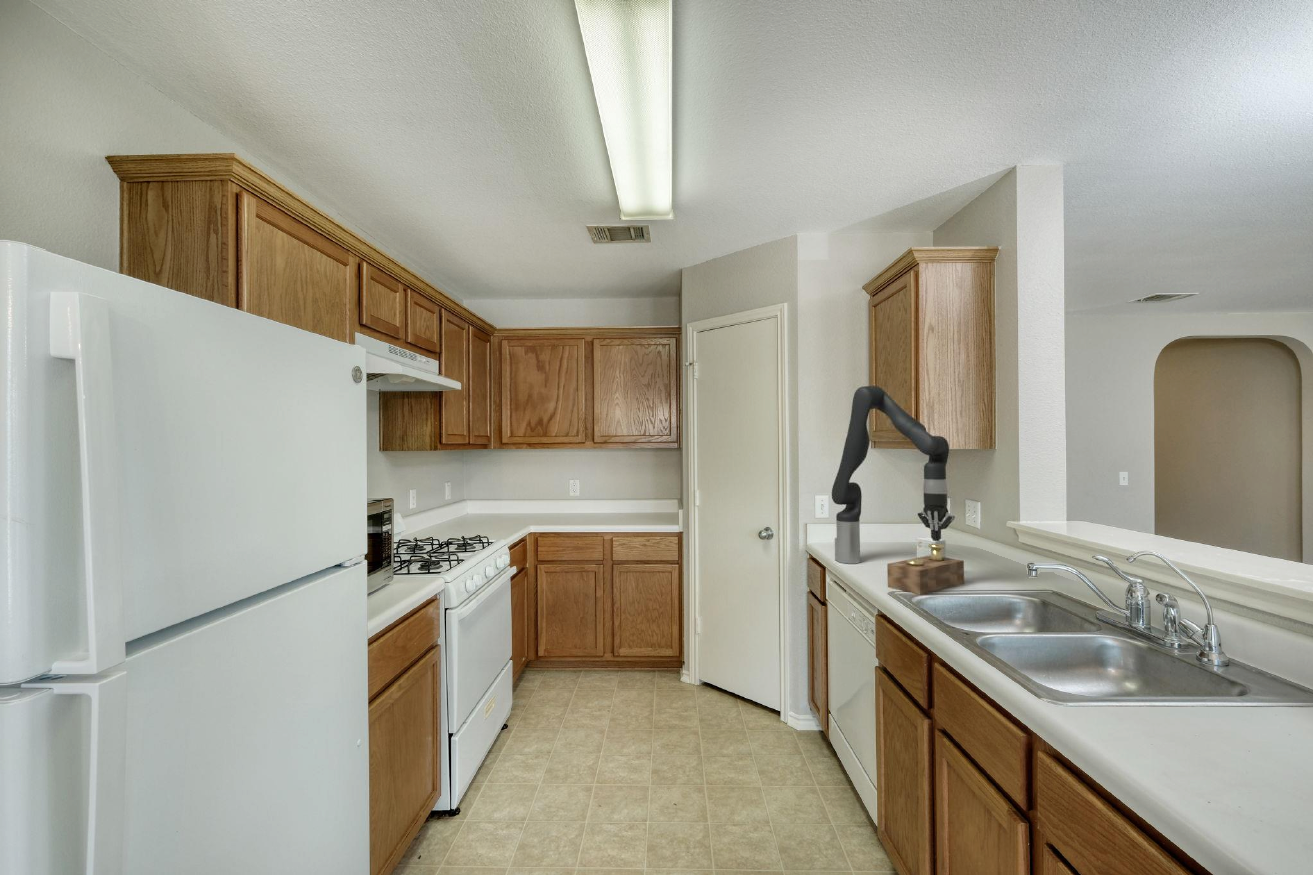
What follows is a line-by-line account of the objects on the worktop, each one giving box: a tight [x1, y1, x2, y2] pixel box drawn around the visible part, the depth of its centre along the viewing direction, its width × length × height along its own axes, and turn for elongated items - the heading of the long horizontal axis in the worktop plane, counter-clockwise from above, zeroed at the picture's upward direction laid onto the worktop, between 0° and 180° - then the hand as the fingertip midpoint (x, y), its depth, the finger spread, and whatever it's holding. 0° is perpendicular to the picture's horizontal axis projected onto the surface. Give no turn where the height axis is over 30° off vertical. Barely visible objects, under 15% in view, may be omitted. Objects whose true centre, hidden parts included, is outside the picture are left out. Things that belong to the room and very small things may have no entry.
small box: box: [916, 536, 947, 558], centre depth 206 cm, size 8×6×13 cm
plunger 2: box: [929, 544, 944, 562], centre depth 193 cm, size 5×5×8 cm
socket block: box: [886, 555, 965, 596], centre depth 189 cm, size 12×26×8 cm, turn 122°
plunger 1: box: [906, 559, 923, 567], centre depth 186 cm, size 5×5×8 cm
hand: (936, 540), depth 193 cm, fingers closed
